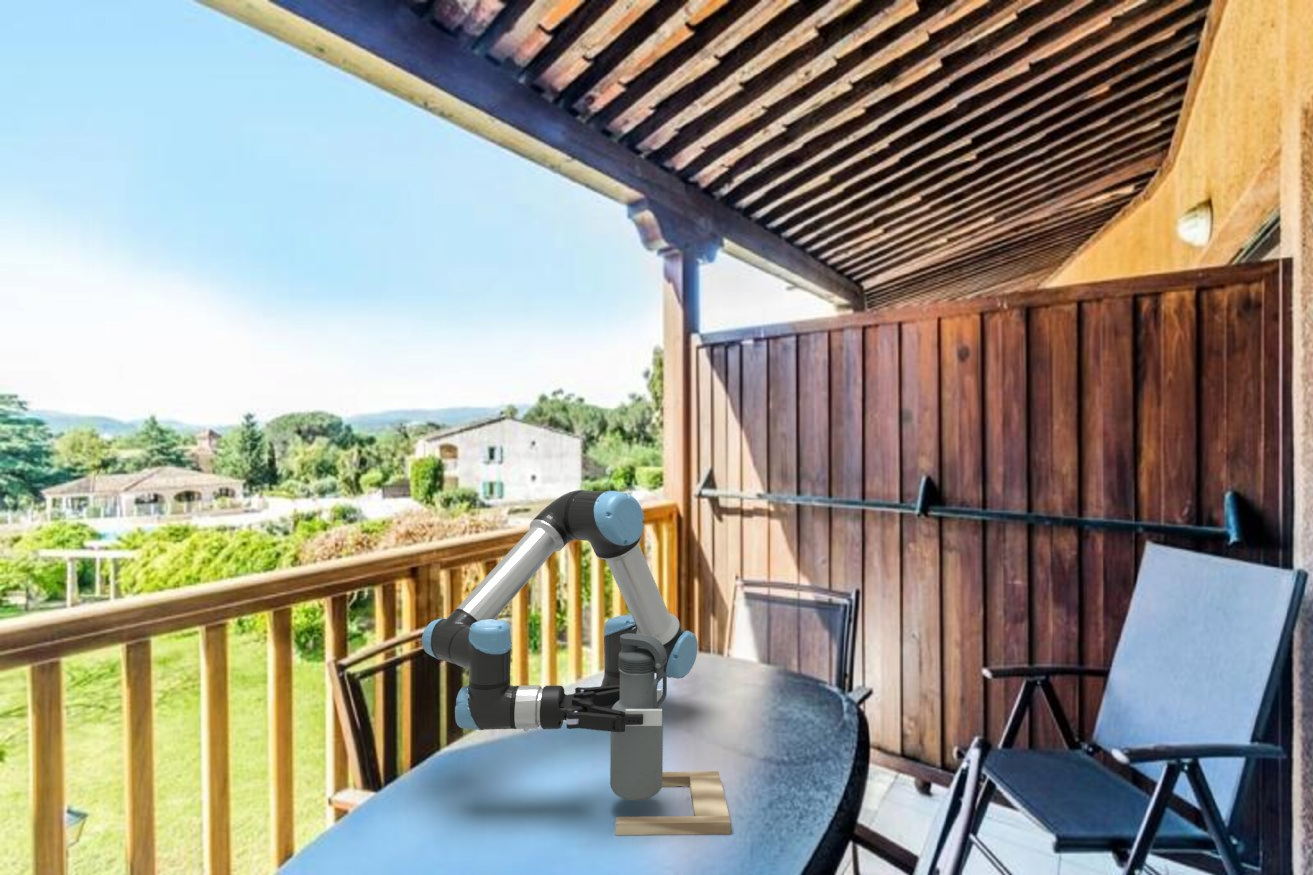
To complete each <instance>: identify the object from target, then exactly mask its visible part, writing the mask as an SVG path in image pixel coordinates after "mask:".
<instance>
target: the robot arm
mask: <svg viewBox="0 0 1313 875" xmlns="http://www.w3.org/2000/svg"><path fill="white" fill-rule="evenodd" d="M644 520H645V516H644V511H643V508H642V506H641V504H640V503H639V501H638V500H637V499H636V498H635V497H634V496H633V495H631V494H629V493H626V492H621V491H618V490H607V491H603V490H602V491H601V490H600V491H599V490H598V491H597V490H596V491H595V490H585V489H583V490H582V489H577V490H573V491H569V492H567V493H565V494H563V495H561V496H560V497H558V498H557V499H554V500H553V501H552V502H551V503H549V504H548V505H547V506H546V507H544V508H543V509H542V510H541V511H540V512H539V513H538V514H537V515H536V516H535V517H534V518H533V519H532V521H530V522H529V523H530V524H529V530H528V531H527V532H526V533H525V534H524V535H523V536H522V538H520V540H518V542H517V543H516V544H515V545H514V546H513V547H512V548H511V549H510V550H509V551H508V552H507V554H506V555H505V556H504V557H503V558H502V559H501V560H500V561H499V562H498V563H497V564H496V566H494V568H493V569H492V570H491V571H490V572H488V574H487V575H486V576H485V577H484V578H483V579H482V581H480V583H479V584H478V585H477V586H476V587H475V588H474V589H473V590H472V591H471V592H470V593H469V594H468V595H467V596H466V598H465V599H464V600H463V601H462V602H461V603H460V604H459V605H458V606H457V607H456V609H455V610H454V611H453V612H452V613H450V615H449V616H448V617H447V618H437V619H435V620H433V621H431V622H430V623H429V624H427V626H426V627H425V629H424V631H423V632H422V635H421V636H422V637H421V646H422V648H423V650H424V652H425V653H426V654H428V655H429V656H431V657H433V658H435V659H437V660H439V661H441V662H442V661H445V662H448V663H451V664H454V665H455V666H456V665H457V666H459V667H461V668H464V669H467V670H468V675H469V676H468V685H465V686H462V687H461V688H460V690H459V691H458V693H457V696H456V700H455V701H456V702H455V707H454V717H455V723H456V724H457V726H458V727H459V728H461V729H465V730H479V731H486V730H487V731H488V730H523V731H524V732H528V731H529V730H537V729H538V728H540V727H541V729H542V730H560V729H561V728H562V726H563V724H564V721H566V729H569V730H574V729H576V730H577V729H583V730H594V731H599V732H600V731H602V732H610V733H611V732H625V725H626V726H662V710H663V708H662V709H626V714H625V712H623V711H618V710H614V709H612V707H613V706H614V704H615V703H616V702H617V701H619V700H620V671H619V653H620V652H621V647H622V644H621V643H620V635H622V634H627V633H632V634H639V635H647V636H652V637H654V638H656V639H657V640H659V641H660V642H661V643H662V645H663V646H664V648H665V650H666V653H667V662H666V663H665V664H664V673H666V674H667V679H668V678H670V679H671V678H673V679H683V678H685V677H686V676H688V675H689V674H690V672H691V670H692V669H693V667H694V665H695V662H696V659H697V654H698V649H699V648H698V646H699V645H698V644H699V643H698V639H697V636H696V635H695V633H693V632H692V631H690V630H684V629H683V627H682V625H681V623H680V620H679V618H678V617H677V616H676V615H675V614H673V613H671V612H669V611H668V608H667V606H666V603H665V601H664V599H663V597H662V595H661V592H660V590H659V587H658V585H657V583H656V581H655V579H654V576H653V574H652V570H651V569H650V567H649V565H648V562H647V560H646V558H645V556H644V555H645V554H644V553H643V551H642V549H641V547H640V542H641V540H642V534H643V531H644V529H645V528H644V527H645V524H644V523H643V521H644ZM575 540H577V541H586V542H589V543H590V545H591V546H590V547H592V550H593V552H594V554H595V556H596V557H597V558H598V559H601V560H605V562H606V564H607V566H608V568H609V570H610V573H611V575H612V576H613V579H614V581H615V583H616V585H617V587H618V590H619V592H620V594H621V596H622V598H623V601H624V602H625V606H626V607H627V609H628V611H629V613H630V614H623V615H617V616H614V617H611V618H608V619H607V620H606V622H605V624H604V634H603V650H604V652H603V654H604V655H603V656H604V658H603V659H604V661H603V662H604V663H603V664H604V665H603V666H604V670H603V671H604V672H603V673H604V675H603V679H602V681H601V685H600V686H591V687H578V686H577V687H575V688H574V693H570V694H565V688H564V686H563V685H545V686H543V688H542V686H541V685H540V684H538V685H536V684H535V685H529V684H528V685H512V684H511V655H512V640H511V627H510V624H509V623H508V621H506V620H503V619H497V618H498V616H500V614H501V613H502V612H503V611H504V610H505V608H506V607H507V606H508V605H509V603H511V601H513V599H514V598H516V596H517V595H518V593H519V592H520V591H521V590H522V589H523V588H524V587H525V585H526V584H527V583H528V582H529V581H530V580H531V579H532V577H533V576H534V575H535V574H536V573H537V572H538V570H539V569H540V568H541V567H542V566H543V565H544V564H545V562H546V561H548V559H549V558H550V557H551V556H552V554H553V553H554V552H560V551H561V550H562V549H564V548H565V546H566V545H567V544H569V543H570V542H573V541H575ZM637 647H640V646H637ZM655 674H656V671H655ZM661 696H662V688H657V702H658V700H659V699H660V698H661Z"/></svg>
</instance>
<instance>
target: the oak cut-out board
mask: <svg viewBox="0 0 1313 875" xmlns="http://www.w3.org/2000/svg"><path fill="white" fill-rule="evenodd" d="M674 786H690V787H689V791H690V797H691V799H692V800H691V805H692V806H693V807H692V806H691V807H692V814H693V815H691V816H690V815H688V816H687V815H680V816H679V815H676V816H674V815H673V816H670V815H669V816H668V815H667V816H664V815H663V816H616V817H615V836H666V835H667V836H674V835H678V836H679V835H683V836H685V835H732V834H731V833H732V832H731V829H732V828H731V823H732V822H731V816H730V813H729V809H728V806H727V801H726V796H725V793H724V792H725V791H724V788H723V784H722V780H721V776H720V772H719V771H718V770H711V771H709V770H708V771H705V770H703V771H700V770H698V771H689V770H688V771H663V776H662V788H675V787H674Z"/></svg>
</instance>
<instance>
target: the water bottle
mask: <svg viewBox="0 0 1313 875" xmlns="http://www.w3.org/2000/svg"><path fill="white" fill-rule="evenodd" d="M620 643H621V644H622V647H621V652H620V653H619V671H620V700H619V701H617V702H616V703H615V704H614V706H613V707H612V709H614V710H618V711H623V712H625V714H626V709H662V726H626V725H625V732H610V752H609V754H610V759H609V760H610V762H609V763H610V764H609V772H610V773H609V776H610V777H609V780H610V782H609V785H610V789H611V791H612V792H613V793H614V795H616V796H617V797H619V798H622V799H625V800H628V801H644V800H647V799H651V798H653V797H654V796H656V795H658V794H659V793H660V792H661V789H662V788H663V787H662V776H663V772H664V771H663V767H664V766H663V763H664V762H663V759H664V758H663V756H664V755H663V752H664V748H663V746H664V741H663V740H664V712H663V711H664V710H663V708H662V704H663V703H664V702H665V700H666V698H667V694H668V693H667V690H668V688H667V686H668V685H667V684H668V677H667V674H666V673H664V664H665V663H666V662H667V653H666V650H665V648H664V646H663V645H662V643H661V642H660V641H659V640H657V639H656V638H654V637H652V636H647V635H639V634H632V633H627V634H622V635H620ZM637 646H640V647H637ZM655 671H656V673H655ZM655 674H656V675H655ZM655 676H656V677H655ZM661 680H662V691H661V698H660V699H659V700H658V702H657V689H658V685H659V683H660V681H661Z"/></svg>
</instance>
